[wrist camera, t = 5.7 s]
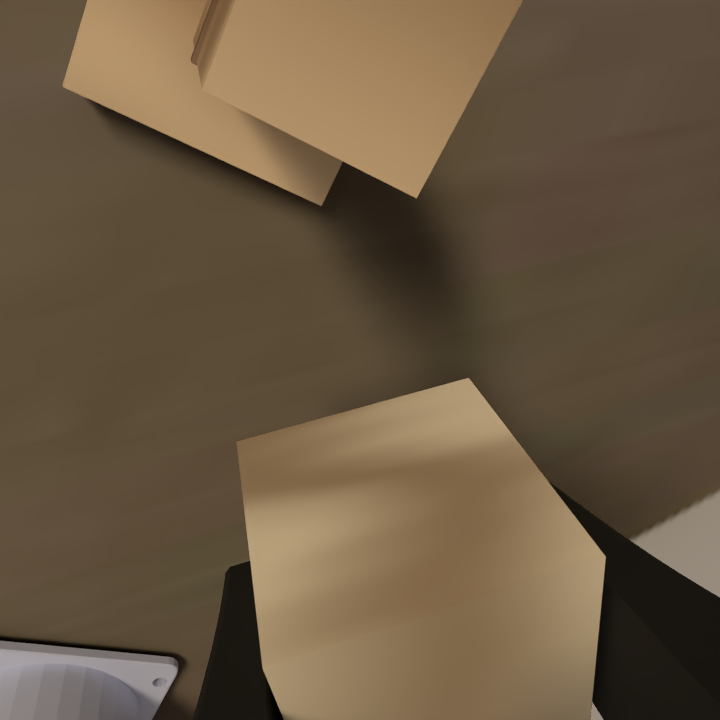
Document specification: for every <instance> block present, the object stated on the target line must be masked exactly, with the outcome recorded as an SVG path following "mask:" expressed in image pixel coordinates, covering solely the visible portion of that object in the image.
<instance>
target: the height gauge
mask: <svg viewBox="0 0 720 720" xmlns="http://www.w3.org/2000/svg"><path fill="white" fill-rule="evenodd" d="M522 1H523V0H88V1H87V4H86V8H85V11H84V14H83V18H82V21H81V25H80V28H79V31H78V35H77V38H76V42H75V45H74V48H73V52H72V55H71V59H70V62H69V66H68V69H67V72H66V76H65V79H64V83H63V86H62V87H64V88H66V89H69V90H71V91H73V92H75V93H77V94H79V95H82V96H84V97H86V98H88V99H90V100H92V101H95V102H97V103H99V104H101V105H103V106H105V107H108V108H110V109H112V110H114V111H116V112H118V113H121V114H123V115H125V116H127V117H129V118H131V119H134V120H136V121H138V122H140V123H142V124H144V125H147V126H149V127H151V128H153V129H155V130H157V131H160V132H162V133H164V134H166V135H168V136H170V137H173V138H175V139H177V140H179V141H181V142H183V143H186V144H188V145H190V146H192V147H194V148H196V149H199V150H201V151H203V152H205V153H207V154H209V155H212V156H214V157H216V158H218V159H220V160H222V161H225V162H227V163H229V164H231V165H233V166H235V167H238V168H240V169H242V170H244V171H246V172H249V173H251V174H253V175H255V176H257V177H259V178H262V179H264V180H266V181H268V182H270V183H272V184H275V185H277V186H279V187H281V188H283V189H285V190H288V191H290V192H292V193H294V194H296V195H298V196H301V197H303V198H305V199H307V200H309V201H311V202H314V203H316V204H318V205H320V206H322V204H323V202H324V200H325V198H326V196H327V194H328V192H329V190H330V187H331V185H332V183H333V181H334V179H335V177H336V175H337V173H338V171H339V169H340V167H341V164H342V162H345V163H347V164H349V165H351V166H353V167H355V168H357V169H359V170H361V171H363V172H365V173H367V174H369V175H371V176H373V177H375V178H377V179H379V180H381V181H383V182H385V183H387V184H389V185H391V186H393V187H395V188H397V189H399V190H401V191H403V192H405V193H407V194H409V195H411V196H413V197H415V198H417V197H418V195H419V193H420V191H421V189H422V187H423V186H424V184H425V182H426V180H427V178H428V176H429V174H430V173H431V171H432V169H433V167H434V165H435V163H436V161H437V159H438V158H439V156H440V154H441V152H442V150H443V148H444V146H445V145H446V143H447V141H448V139H449V137H450V135H451V133H452V131H453V130H454V128H455V126H456V124H457V122H458V120H459V118H460V117H461V115H462V113H463V111H464V109H465V107H466V105H467V103H468V102H469V100H470V98H471V96H472V94H473V92H474V90H475V89H476V87H477V85H478V83H479V81H480V79H481V77H482V75H483V74H484V72H485V70H486V68H487V66H488V64H489V62H490V61H491V59H492V57H493V55H494V53H495V51H496V49H497V47H498V46H499V44H500V42H501V40H502V38H503V36H504V34H505V33H506V31H507V29H508V27H509V25H510V23H511V21H512V19H513V18H514V16H515V14H516V12H517V10H518V8H519V6H520V5H521V3H522Z"/></svg>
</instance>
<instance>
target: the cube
mask: <svg viewBox="0 0 720 720" xmlns="http://www.w3.org/2000/svg"><path fill="white" fill-rule="evenodd" d="M237 450H238V458H239V467H240V476H241V485H242V493H243V502H244V511H245V520H246V528H247V537H248V546H249V554H250V563H251V572H252V581H253V589H254V598H255V607H256V615H257V624H258V633H259V642H260V650H261V659H262V668H263V671H264V673H265V676H266V678H267V680H268V683H269V685H270V688H271V690H272V692H273V695H274V697H275V700H276V702H277V704H278V707H279V709H280V712H281V714H282V716H283V719H284V720H590V718H591V707H592V697H593V686H594V676H595V665H596V655H597V644H598V634H599V623H600V613H601V603H602V592H603V582H604V571H605V561H606V556H605V555H604V554H603V553H602V551H601V550H600V549H599V547H598V546H597V545H596V543H595V542H594V541H593V539H592V538H591V537H590V536H589V534H588V533H587V532H586V530H585V529H584V528H583V526H582V525H581V524H580V523H579V521H578V520H577V519H576V517H575V516H574V515H573V513H572V512H571V511H570V509H569V508H568V507H567V506H566V504H565V503H564V502H563V500H562V499H561V498H560V496H559V495H558V494H557V493H556V491H555V490H554V489H553V487H552V486H551V485H550V483H549V482H548V481H547V479H546V478H545V477H544V476H543V474H542V473H541V472H540V470H539V469H538V468H537V466H536V465H535V464H534V463H533V461H532V460H531V459H530V457H529V456H528V455H527V453H526V452H525V451H524V449H523V448H522V447H521V446H520V444H519V443H518V442H517V440H516V439H515V438H514V436H513V435H512V434H511V433H510V431H509V430H508V429H507V427H506V426H505V425H504V423H503V422H502V421H501V419H500V418H499V417H498V416H497V414H496V413H495V412H494V410H493V409H492V408H491V406H490V405H489V404H488V403H487V401H486V400H485V399H484V397H483V396H482V395H481V393H480V392H479V391H478V389H477V388H476V387H475V386H474V384H473V383H472V382H471V380H470V379H469V378H466V379H463V380H459V381H455V382H452V383H448V384H444V385H441V386H437V387H434V388H430V389H426V390H423V391H419V392H415V393H412V394H408V395H404V396H401V397H397V398H394V399H390V400H386V401H383V402H379V403H375V404H372V405H368V406H364V407H361V408H357V409H354V410H350V411H346V412H343V413H339V414H335V415H332V416H328V417H324V418H321V419H317V420H314V421H310V422H306V423H303V424H299V425H295V426H292V427H288V428H285V429H281V430H277V431H274V432H270V433H266V434H263V435H259V436H255V437H252V438H248V439H245V440H241V441H237Z"/></svg>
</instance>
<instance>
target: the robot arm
mask: <svg viewBox="0 0 720 720" xmlns="http://www.w3.org/2000/svg"><path fill="white" fill-rule="evenodd" d="M548 482H549V481H548ZM549 483H550V482H549ZM550 485H551V486H552V487H553V489H554V490H555V491H556V493H557V494H558V495H559V496H560V498H561V499H562V500H563V502H564V503H565V504H566V506H567V507H568V508H569V509H570V511H571V512H572V513H573V515H574V516H575V517H576V519H577V520H578V521H579V523H580V524H581V525H582V526H583V528H584V529H585V530H586V532H587V533H588V534H589V536H590V537H591V538H592V539H593V541H594V542H595V543H596V545H597V546H598V547H599V549H600V550H601V551H602V553H603V554H604V555H605V556H606V561H605V571H604V582H603V592H602V603H601V613H600V623H599V634H598V644H597V655H596V665H595V676H594V686H593V697H592V702H593V703H594V705H595V707H596V708H597V710H598V711H599V713H600V714H601V716H602V718H603V719H604V720H720V598H719V597H718V596H716V595H715V594H713V593H711V592H709V591H708V590H706V589H704V588H703V587H701V586H699V585H698V584H696V583H695V582H693V581H691V580H690V579H688V578H687V577H685V576H683V575H682V574H680V573H678V572H677V571H675V570H674V569H672V568H670V567H669V566H667V565H666V564H664V563H662V562H661V561H660V560H658V559H656V558H655V557H653V556H652V555H651V554H649V553H647V552H646V551H645V550H643V549H642V548H640V547H639V546H637V545H636V544H634V543H633V542H631V541H630V540H628V539H627V538H626V537H624V536H623V535H621V534H620V533H618V532H617V531H615V530H614V529H613V528H611V527H610V526H608V525H607V524H605V523H604V522H603V521H601V520H600V519H599V518H597V517H596V516H594V515H593V514H592V513H590V512H589V511H588V510H586V509H585V508H583V507H582V506H581V505H579V504H578V503H577V502H575V501H574V500H573V499H571V498H570V497H569V496H567V495H566V494H565V493H563V492H562V491H561V490H559V489H558V488H557V487H555V486H554V485H553V484H551V483H550ZM177 673H178V662H177V660H176V659H174V658H172V657H168V656H157V655H147V654H136V653H126V652H115V651H105V650H94V649H84V648H73V647H63V646H53V645H42V644H32V643H21V642H11V641H0V720H152V719H153V717H154V715H155V713H156V711H157V710H158V708H159V706H160V704H161V702H162V701H163V699H164V697H165V695H166V693H167V691H168V690H169V688H170V686H171V684H172V682H173V681H174V679H175V677H176V675H177ZM192 720H284V719H283V716H282V714H281V712H280V709H279V707H278V704H277V702H276V700H275V697H274V695H273V692H272V690H271V688H270V685H269V683H268V680H267V678H266V676H265V673H264V671H263V668H262V659H261V650H260V642H259V633H258V624H257V615H256V607H255V598H254V589H253V581H252V572H251V563H250V561H248V562H245V563H242V564H238V565H235V566H232V567H230V568H229V569H228V571H227V572H226V573H225V582H224V589H223V596H222V602H221V608H220V613H219V618H218V623H217V628H216V632H215V637H214V641H213V646H212V650H211V654H210V658H209V662H208V666H207V669H206V673H205V677H204V681H203V685H202V689H201V693H200V696H199V700H198V703H197V707H196V710H195V713H194V716H193V719H192Z"/></svg>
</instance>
